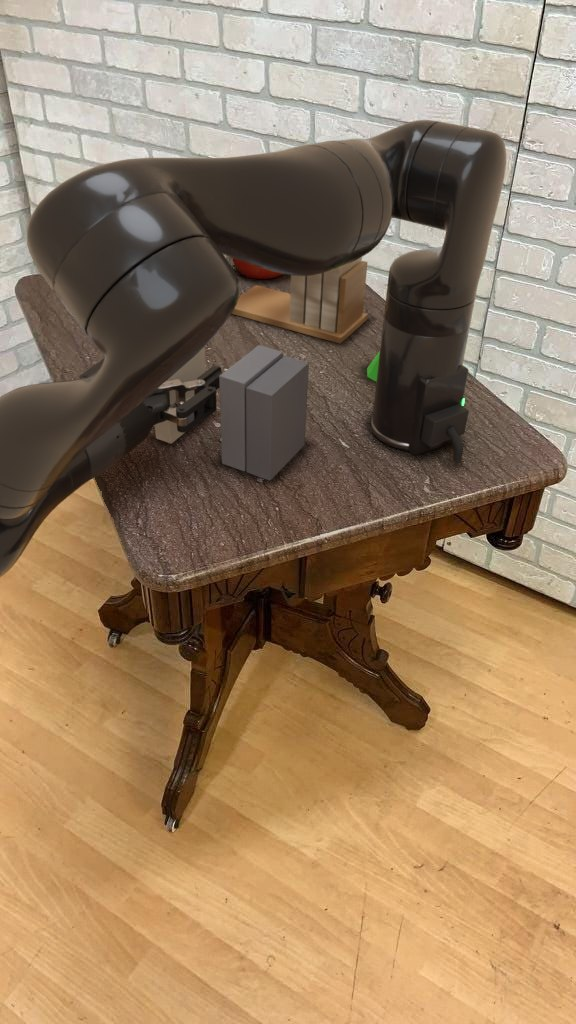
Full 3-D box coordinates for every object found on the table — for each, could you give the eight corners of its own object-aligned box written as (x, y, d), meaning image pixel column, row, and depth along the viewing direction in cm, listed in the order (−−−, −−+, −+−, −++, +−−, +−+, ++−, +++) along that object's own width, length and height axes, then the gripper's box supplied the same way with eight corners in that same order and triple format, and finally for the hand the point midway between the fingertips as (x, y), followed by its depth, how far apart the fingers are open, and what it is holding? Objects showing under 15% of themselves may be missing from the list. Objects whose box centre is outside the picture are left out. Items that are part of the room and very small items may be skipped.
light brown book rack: (367, 319, 117) (374, 246, 110) (340, 344, 110) (346, 267, 104) (256, 290, 124) (256, 219, 117) (225, 312, 117) (223, 238, 110)
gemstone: (358, 366, 106) (362, 324, 102) (398, 360, 107) (403, 318, 104) (377, 388, 101) (382, 345, 98) (419, 381, 103) (425, 339, 99)
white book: (207, 414, 95) (204, 342, 89) (171, 444, 90) (165, 370, 84) (192, 409, 96) (188, 337, 90) (155, 438, 91) (148, 364, 85)
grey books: (304, 445, 91) (309, 359, 84) (270, 481, 85) (271, 392, 78) (258, 429, 93) (258, 344, 86) (221, 463, 88) (218, 375, 81)
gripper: (148, 419, 74) (240, 349, 85) (31, 378, 79) (133, 317, 90) (154, 484, 78) (241, 409, 89) (44, 441, 83) (138, 376, 95)
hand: (186, 363), depth 90 cm, fingers open, 8 cm apart
